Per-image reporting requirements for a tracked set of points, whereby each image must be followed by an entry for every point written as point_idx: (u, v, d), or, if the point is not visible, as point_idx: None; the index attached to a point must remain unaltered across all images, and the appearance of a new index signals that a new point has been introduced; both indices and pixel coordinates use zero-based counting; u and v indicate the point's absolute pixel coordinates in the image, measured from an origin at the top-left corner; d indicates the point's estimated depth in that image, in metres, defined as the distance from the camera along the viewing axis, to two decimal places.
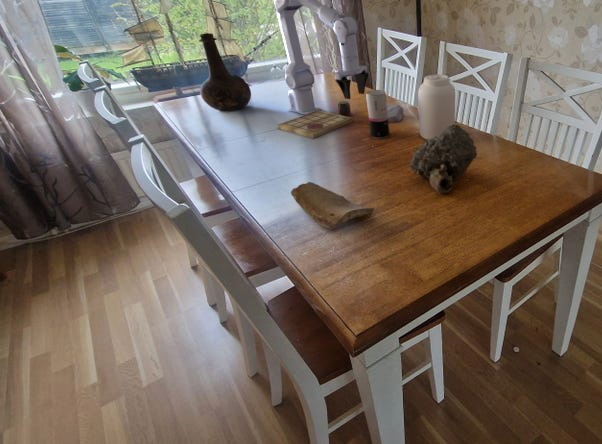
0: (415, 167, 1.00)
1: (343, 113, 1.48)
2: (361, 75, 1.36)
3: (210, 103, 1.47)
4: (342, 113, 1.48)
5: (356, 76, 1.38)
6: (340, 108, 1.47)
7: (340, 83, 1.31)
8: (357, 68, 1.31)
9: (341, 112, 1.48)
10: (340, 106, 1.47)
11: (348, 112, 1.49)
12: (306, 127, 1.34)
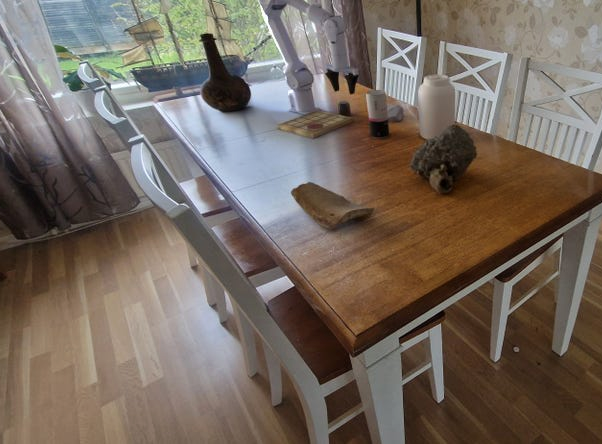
0: (415, 167, 1.00)
1: (343, 113, 1.48)
2: None
3: (210, 103, 1.47)
4: (342, 113, 1.48)
5: None
6: (340, 108, 1.47)
7: None
8: (335, 66, 1.36)
9: (341, 112, 1.48)
10: (340, 106, 1.47)
11: (348, 112, 1.49)
12: (306, 127, 1.34)
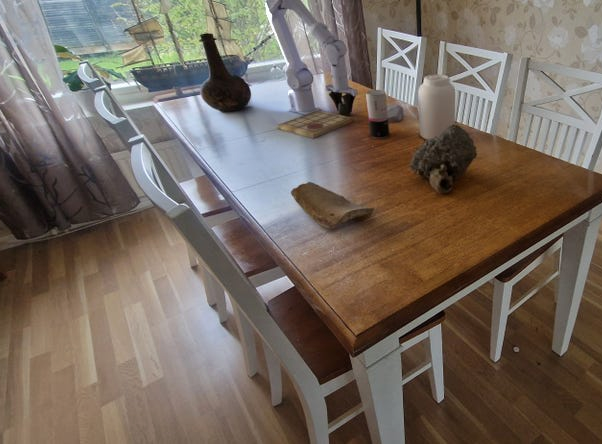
0: (415, 167, 1.00)
1: (343, 113, 1.48)
2: None
3: (210, 103, 1.47)
4: (342, 113, 1.48)
5: None
6: (340, 108, 1.47)
7: None
8: (336, 87, 1.42)
9: (341, 112, 1.48)
10: (340, 106, 1.47)
11: None
12: (306, 127, 1.34)
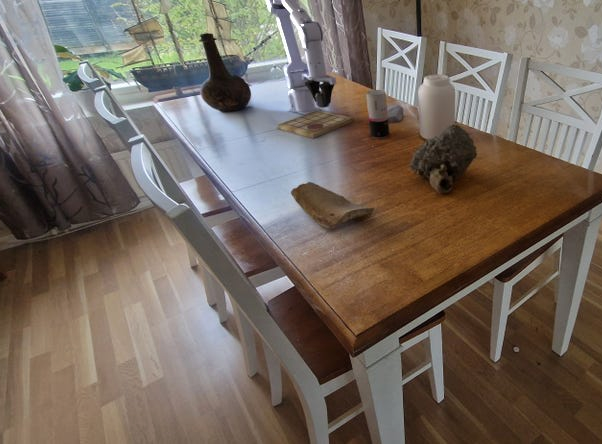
0: (415, 167, 1.00)
1: (321, 104, 1.34)
2: None
3: (210, 103, 1.47)
4: (320, 104, 1.34)
5: None
6: (317, 98, 1.34)
7: None
8: (312, 75, 1.29)
9: (319, 103, 1.34)
10: (317, 96, 1.33)
11: None
12: (306, 127, 1.34)
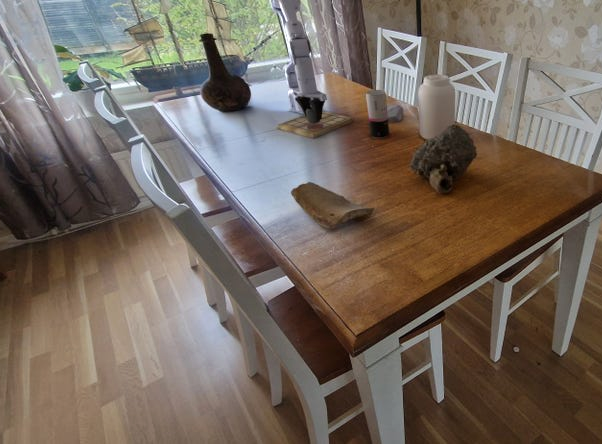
0: (415, 167, 1.00)
1: (312, 120, 1.32)
2: None
3: (210, 103, 1.47)
4: (310, 120, 1.32)
5: None
6: (308, 114, 1.31)
7: None
8: (302, 91, 1.26)
9: (309, 119, 1.32)
10: (308, 112, 1.30)
11: None
12: (306, 127, 1.34)
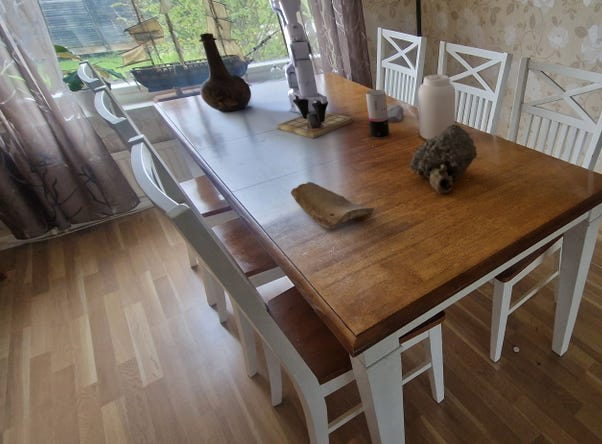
0: (415, 167, 1.00)
1: (312, 124, 1.33)
2: None
3: (210, 103, 1.47)
4: (311, 124, 1.33)
5: None
6: (309, 119, 1.32)
7: None
8: (302, 93, 1.26)
9: (310, 123, 1.32)
10: (309, 117, 1.31)
11: (318, 123, 1.33)
12: (306, 127, 1.34)
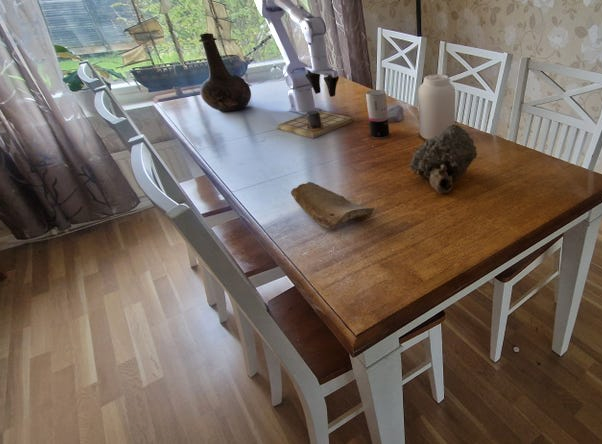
0: (415, 167, 1.00)
1: (312, 124, 1.33)
2: None
3: (210, 103, 1.47)
4: (311, 124, 1.33)
5: None
6: (309, 119, 1.32)
7: None
8: (314, 68, 1.33)
9: (310, 123, 1.32)
10: (309, 117, 1.31)
11: (318, 123, 1.33)
12: (306, 127, 1.34)
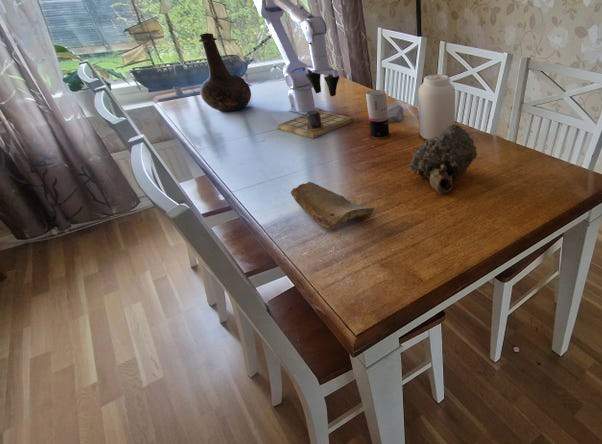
0: (415, 167, 1.00)
1: (312, 124, 1.33)
2: None
3: (210, 103, 1.47)
4: (311, 124, 1.33)
5: None
6: (309, 119, 1.32)
7: None
8: (315, 67, 1.34)
9: (310, 123, 1.32)
10: (309, 117, 1.31)
11: (318, 123, 1.33)
12: (306, 127, 1.34)
